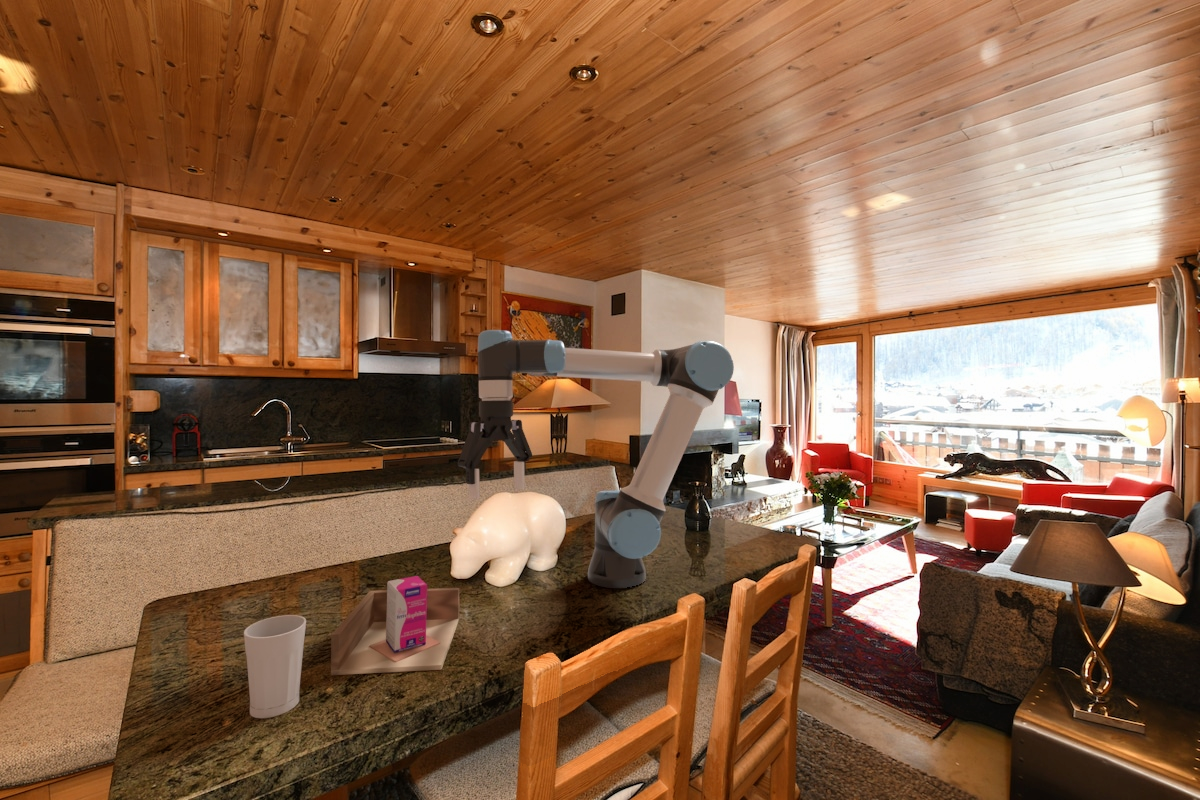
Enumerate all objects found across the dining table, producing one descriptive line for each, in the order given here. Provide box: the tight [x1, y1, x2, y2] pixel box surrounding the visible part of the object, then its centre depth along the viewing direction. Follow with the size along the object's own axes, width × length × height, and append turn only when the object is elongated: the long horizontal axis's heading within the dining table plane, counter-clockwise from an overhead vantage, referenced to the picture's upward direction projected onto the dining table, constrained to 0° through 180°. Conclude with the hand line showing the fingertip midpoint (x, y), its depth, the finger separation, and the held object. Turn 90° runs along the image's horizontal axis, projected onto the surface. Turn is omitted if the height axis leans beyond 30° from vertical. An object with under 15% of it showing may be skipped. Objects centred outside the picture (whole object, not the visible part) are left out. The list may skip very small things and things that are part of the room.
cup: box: [243, 614, 307, 719], centre depth 78 cm, size 8×8×12 cm
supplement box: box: [386, 575, 428, 653], centre depth 96 cm, size 6×6×12 cm
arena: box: [330, 587, 460, 676], centre depth 97 cm, size 18×20×7 cm
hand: (497, 494), depth 116 cm, fingers open, 13 cm apart
